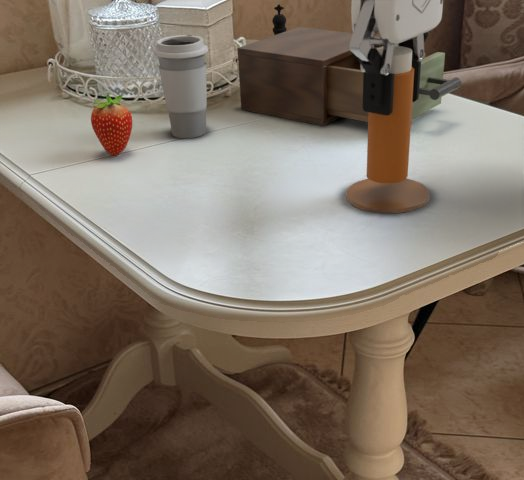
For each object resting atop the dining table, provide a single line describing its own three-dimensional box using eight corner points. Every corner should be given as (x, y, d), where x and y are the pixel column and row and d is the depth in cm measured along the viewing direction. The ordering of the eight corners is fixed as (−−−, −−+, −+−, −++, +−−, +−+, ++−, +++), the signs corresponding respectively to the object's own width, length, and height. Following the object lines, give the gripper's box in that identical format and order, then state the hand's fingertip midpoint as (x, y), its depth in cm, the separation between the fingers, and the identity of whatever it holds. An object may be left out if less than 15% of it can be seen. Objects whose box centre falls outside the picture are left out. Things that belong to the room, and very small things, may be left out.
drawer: (471, 108, 108) (476, 56, 104) (422, 137, 99) (426, 82, 95) (359, 89, 117) (360, 41, 113) (306, 114, 109) (305, 63, 105)
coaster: (426, 180, 90) (426, 176, 90) (432, 213, 82) (432, 209, 82) (346, 181, 91) (346, 176, 91) (345, 213, 83) (346, 209, 83)
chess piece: (268, 64, 135) (266, 2, 129) (294, 64, 134) (293, 1, 129) (266, 72, 131) (264, 7, 126) (293, 71, 131) (291, 6, 125)
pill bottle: (406, 168, 87) (414, 44, 80) (408, 183, 83) (416, 55, 76) (366, 168, 87) (370, 45, 80) (366, 183, 84) (370, 56, 77)
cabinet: (380, 98, 116) (382, 36, 112) (323, 126, 107) (323, 60, 102) (300, 84, 124) (299, 26, 119) (241, 109, 115) (237, 47, 110)
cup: (223, 127, 109) (216, 35, 102) (201, 143, 104) (192, 48, 97) (178, 122, 111) (168, 33, 105) (154, 138, 106) (142, 45, 100)
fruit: (88, 155, 102) (77, 93, 97) (120, 144, 105) (111, 83, 100) (114, 164, 99) (104, 100, 94) (146, 152, 102) (138, 89, 97)
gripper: (387, -87, 64) (378, 136, 74) (481, -106, 74) (462, 90, 84) (311, -89, 68) (313, 122, 78) (411, -107, 78) (400, 80, 88)
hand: (390, 104), depth 81 cm, fingers closed on pill bottle, 4 cm apart
